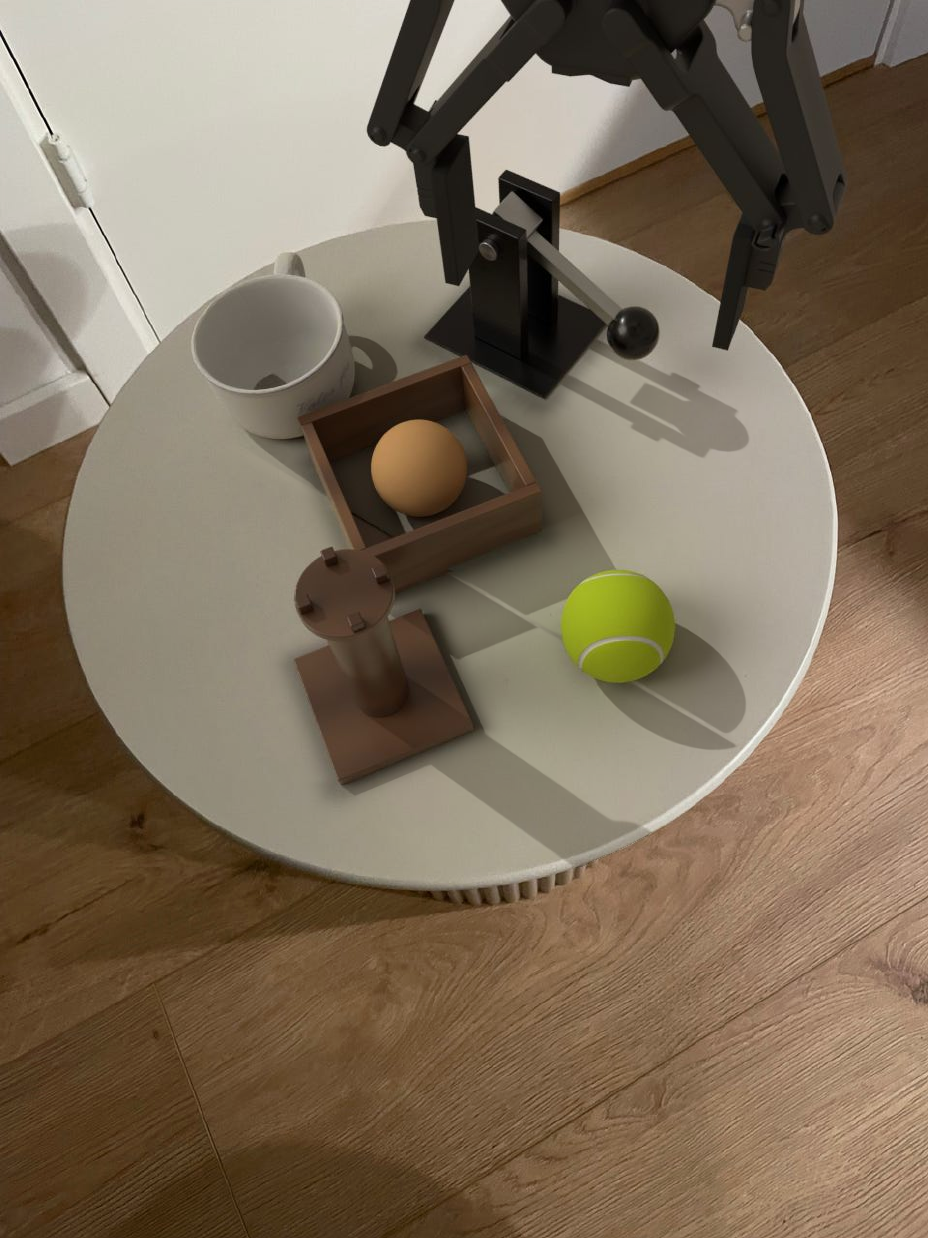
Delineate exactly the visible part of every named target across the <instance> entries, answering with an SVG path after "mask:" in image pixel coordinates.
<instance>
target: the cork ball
mask: <svg viewBox="0 0 928 1238" xmlns="http://www.w3.org/2000/svg"><path fill="white" fill-rule="evenodd" d="M370 469H371V470H370V472H371V478H372V482H373V485H374V488H375V490H376V492H377V494H378V495H379V497H380V498H381V499H382V501H383V502H384V503H385V504H386V505H388V506H389V507H390V508H391V509H393V510H395V512H398V513H400V514H403V515H404V516H405V515H406V516H410V517H420V518H421V517H422V518H423V517H429V516H433V515H436V514H439V513H441V512H443V511H444V510H446V509H448V508H449V507H450V506H451V505H452V504H454V502H455V501H456V500H457V499H458V497H460V495H461V494H462V491H463V489H464V487H465V484H466V480H467V475H468V462H467V456H466V452H465V451H464V447H463V446H462V444H461V442H460V440H459V439H458V438H457V437H456V436H455V434H454V433H453V432H452V431H451V430H449V428H447V427H445V426H444V425H442V424H440V423H437V422H432V421H428V420H410V421H406V422H402V423H400V424H398V425H396V426H394V427H393V428H391V429H390V430H389V431H388V432H386V433H385V434H384V435H383V437H382V438H381V439H380V441H379V442H378V443H377V444H376V446H375V448H374V450H373V453H372V457H371V463H370Z"/></svg>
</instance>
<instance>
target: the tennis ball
mask: <svg viewBox="0 0 928 1238" xmlns="http://www.w3.org/2000/svg"><path fill="white" fill-rule="evenodd" d="M675 633H676V620H675V614H674V609H673V608H672V605H671V602H670V600H669V599H668V596H667V595H666V594H665V592H664V591H663V590H662V588H661V587H660V586H659V585H658V584H657V583H656V582H655V581H653V580H651V579H650V578H649V577H647V576H645V575H644V574H642V573H639V572H635V571H632V570H627V569H609V570H604V571H600V572H597V573H595V574H592V575H590V576H589V577H587V578H585V579H584V580H582V581H581V582H580V583H579V584H577V585H576V586H575V588H574V589H573V590H572V592H571V593H570V594H569V596H568V597H567V599H566V602H565V604H564V606H563V609H562V613H561V618H560V634H561V640H562V643H563V646H564V649H565V652H566V653H567V656H568V657H569V659H570V660H571V661H572V663H573V664H574V665H575V666H576V667H577V668H578V669H580V670H581V672H583V673H584V674H586V675H588V676H589V677H592V678H594V679H596V680H599V681H602V682H605V683H606V682H607V683H615V684H621V683H622V684H623V683H629V682H633V681H636V680H639V679H642V678H644V677H646V676H648V675H649V674H651V673H652V672H654V671H655V670H656V669H658V668H659V667H660V665H662V663H663V662H664V661H665V659H666V658H667V657H668V655H669V653H670V651H671V648H672V646H673V643H674V638H675Z"/></svg>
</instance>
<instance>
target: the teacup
mask: <svg viewBox="0 0 928 1238" xmlns="http://www.w3.org/2000/svg"><path fill="white" fill-rule="evenodd" d="M344 320H345V319H344V315H343V310H342V306H341V305H340V302H339V300H338V299H337V297H336V296H335V295H334V294H333V292H331V290H330V289H328V288H327V287H326V286H325V285H324V284H321V283H320V282H319V281H316V280H314V279H311V278H308V277H306V271H305V266H304V263H303V260H302V258H301V257H300V255H299V254H297V253H296V252H292V251H288V252H281V253H279V254H278V255H277V256H276V258H275V259H274V264H273V274H266V275H262V276H257V277H255V278H250V279H247V280H244V281H241V282H239V283H237V284H235V285H233V286H231V287H230V288H228V289H227V290H225V291H223V292H222V293H220V294H219V295H218V296H217V297H216V298H214V299H213V300H212V301H211V302H210V304H208V305H207V306H206V307H205V309H204V311H203V312H202V314H201V315H200V316H199V318H198V319H197V322H196V323H195V326H194V329H193V332H192V336H191V341H190V343H191V345H190V346H191V356H192V359H193V361H194V365H195V366H196V368H197V370H198V371H199V372H200V374H201V375H202V377H203V378H205V380H206V382H207V383H208V386H209V387H210V389H211V391H212V393H213V395H214V396H215V398H216V399H217V401H218V402H219V404H220V406H221V407H222V409H223V410H224V411H225V413H226V414H227V415H228V416H229V418H230V419H231V420H232V421H234V423H236V424H237V425H238V426H240V427H241V428H242V429H244V430H246V431H247V432H249V433H251V434H253V435H256V436H259V437H262V438H267V439H272V440H273V439H274V440H288V439H289V440H290V439H294V438H299V437H304V436H303V433H302V430H301V427H300V424H299V421H298V418H297V417H299V416H302V415H304V414H307V413H310V412H313V411H315V410H318V409H321V408H323V407H326V406H329V405H331V404H334V403H337V402H340V401H342V400H345V399H348V398H350V396H351V394H352V392H353V388H354V385H355V377H356V367H355V366H356V365H355V358H354V353H353V350H352V345H351V342H350V338H349V335H348V332H347V329H346V326H345V321H344ZM271 375H274V376H276V377H278V378H279V379H281V380H282V381H283V382H284V383H286V384H282V385H279V386H276V387H270V388H265V389H255V388H256V386H257V385H258V383H259V382H260V381H261V380H263V379H264V378H266V377H268V376H271Z"/></svg>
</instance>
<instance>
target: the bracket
mask: <svg viewBox="0 0 928 1238" xmlns="http://www.w3.org/2000/svg"><path fill="white" fill-rule="evenodd" d="M497 182H498V205H499V204H500V203H501V202H502V201H503V200H504V199H505V198H506V197H507V196H508V195H509V194H510V192H512V191H513V192H514V193H515V194H516V195H517V196H518V197H519V198H521V199H522V200H523V201H524V202H525V203H526V204H527V205H528V206H529V207H530V208H532V209H533V210H534V211H535V212H536V213H537V214H538V215H539V216H540V217H541V218H542V219H543V221H542V222H541V224H540V225H539V227H538V228H537V230H536V231H537V232H538V233H539V234H540V235H541V236H542V237H543V238H545V239H546V240H547V241H548V242H549V243H550V244H551V245H552V246H553V247H554V248H556V249H557V250H558V251H559V252H560V229H561V228H560V227H561V226H560V225H561V223H560V221H561V219H560V218H561V192H560V191H557V190H556V189H553V188H551V187H548V186H546V185H544V184H541V183H539V182H537V181H535V180H532V179H529V178H527V177H525V176H523V175H521V174H518V173H515V172H513V171H511V170H509V169H504V171H503V172H501V174H500V175H499V176H498V178H497ZM475 208H476V219H477V229H478V240H479V251H478V252H477V254H476V256H475V258H474V260H473V262H472V264H471V265H470V267H469V269H468V278H469V286H468V287H467V288H466V290H465V291H464V292H463V293H462V294H461V295H460V296H459V297H458V299H456V301H455V302H454V303H453V304H451V306H450V307H449V308H448V310H446V311H445V313H444V314H443V315H442V316H441V317H440V318H439V319H438V320H437V322H436V323H434V325H433V326H432V327H431V328H430V329H429V330H428V331H427V333H426V334H425V335H423V338H424V339H425V340H427V341H428V342H430V343H433V344H435V345H436V346H438V347H440V348H442V349H444V350H446V351H448V352H450V353H452V354H454V355H456V356H457V357H461V356H464V355H468V357H469V359H470V361H471V363H472V364H474V365H476V366H477V367H480V368H481V369H484V370H485V371H488V372H490V373H491V374H493V375H496V376H498V377H499V378H502V379H503V380H505V381H507V382H510V383H511V384H513V385H515V386H517V387H519V388H521V389H523V390H525V391H527V392H529V393H531V394H532V395H535V396H536V397H539V398H541V399H543V400H544V399H545V398H546V397H547V396H548V394H549V393H551V391H552V390H553V389H554V388H555V386H556V385H557V384H558V383H559V381H560V380H561V379H562V377H564V375H565V374H566V373H567V372H568V371H569V369H570V368H571V367H572V365H573V364H574V363H575V362H576V361H577V360H578V358H579V357H580V355H582V353H583V352H584V351H585V349H586V348H587V347H588V346H589V345H590V344H591V342H593V340H594V339H595V337H596V336H597V335H598V334H599V333H600V331H601V330H602V329H603V328H604V327H605V325H607V324H606V323H605V322H604V321H602V320H601V319H600V318H599V317H598V316H597V315H596V314H595V313H594V312H593V311H591V310H590V309H589V308H588V307H587V306H585V305H582V304H580V303H577V302H575V301H573V300H571V299H569V298H567V297H564V296H563V295H561V294H559V281H558V280H557V279H556V278H555V277H554V276H553V275H552V274H550V273H549V272H548V271H547V270H546V269H545V268H544V267H543V266H542V265H540V264H539V263H538V262H537V261H536V260H535V259H534V258H533V257H532V256H531V255H529V254H528V253H527V232H526V229H524V228H522V227H519V226H517V225H515V224H513V223H510V222H508V221H506V220H504V219H501V218H499V217H497V216H495V215H493V214H492V213H491V212H488V211H486V210H483V209H481V208H479V207H477V206H475Z"/></svg>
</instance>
